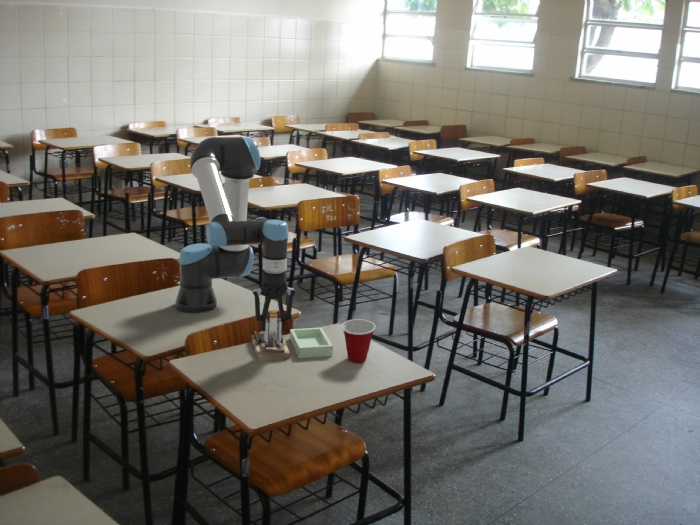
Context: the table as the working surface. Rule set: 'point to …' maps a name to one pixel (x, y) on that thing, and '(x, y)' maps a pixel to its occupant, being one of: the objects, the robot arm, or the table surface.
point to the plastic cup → (358, 338)
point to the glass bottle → (273, 328)
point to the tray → (311, 342)
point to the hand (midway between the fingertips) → (272, 339)
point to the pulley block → (269, 348)
